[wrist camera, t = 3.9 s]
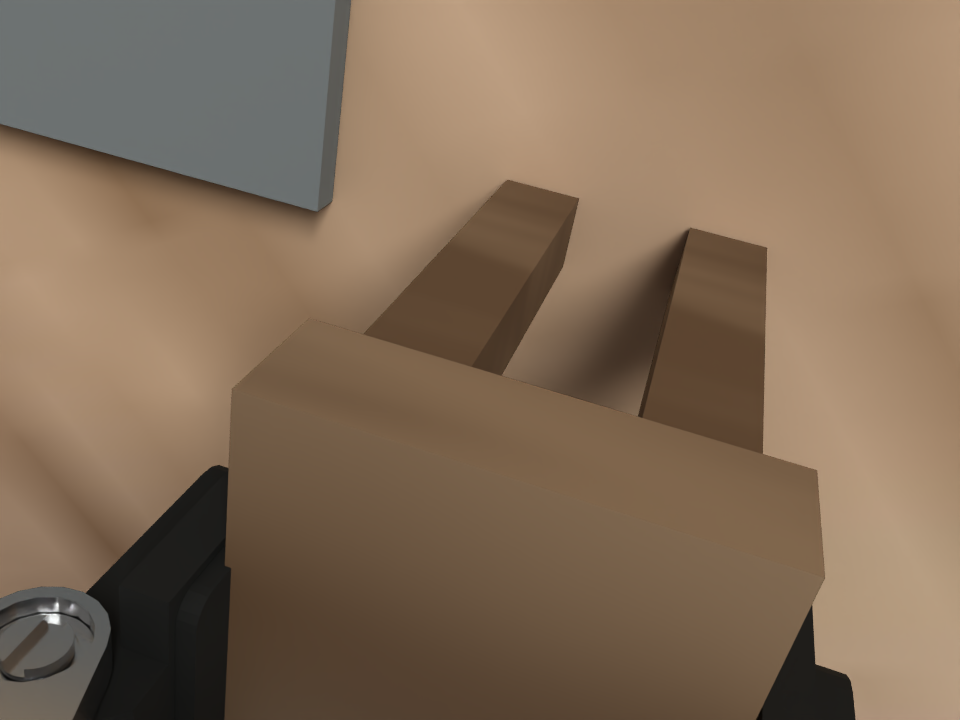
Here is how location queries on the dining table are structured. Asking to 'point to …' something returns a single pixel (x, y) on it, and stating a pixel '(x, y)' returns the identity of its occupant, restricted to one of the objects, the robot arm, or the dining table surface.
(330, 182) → the slate mat
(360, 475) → the walnut stool
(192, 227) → the dining table surface
